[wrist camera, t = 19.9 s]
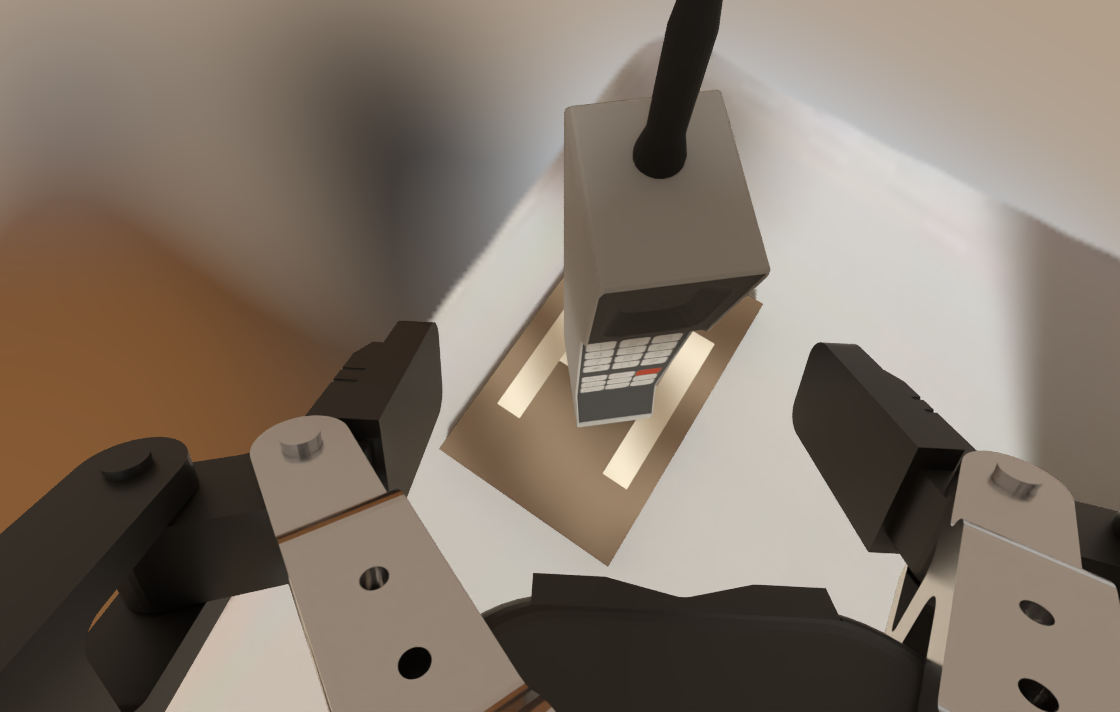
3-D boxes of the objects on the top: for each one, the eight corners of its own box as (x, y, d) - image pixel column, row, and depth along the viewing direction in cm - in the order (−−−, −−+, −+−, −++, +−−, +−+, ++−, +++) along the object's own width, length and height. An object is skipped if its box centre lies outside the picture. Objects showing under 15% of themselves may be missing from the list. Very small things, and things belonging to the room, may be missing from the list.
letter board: (605, 227, 32) (607, 215, 30) (755, 312, 30) (763, 303, 29) (444, 451, 28) (438, 448, 26) (606, 564, 26) (608, 566, 25)
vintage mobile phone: (576, 429, 27) (691, -360, 3) (563, 337, 28) (563, -695, 4) (649, 419, 27) (1360, -416, 3) (632, 328, 28) (1009, -721, 4)
